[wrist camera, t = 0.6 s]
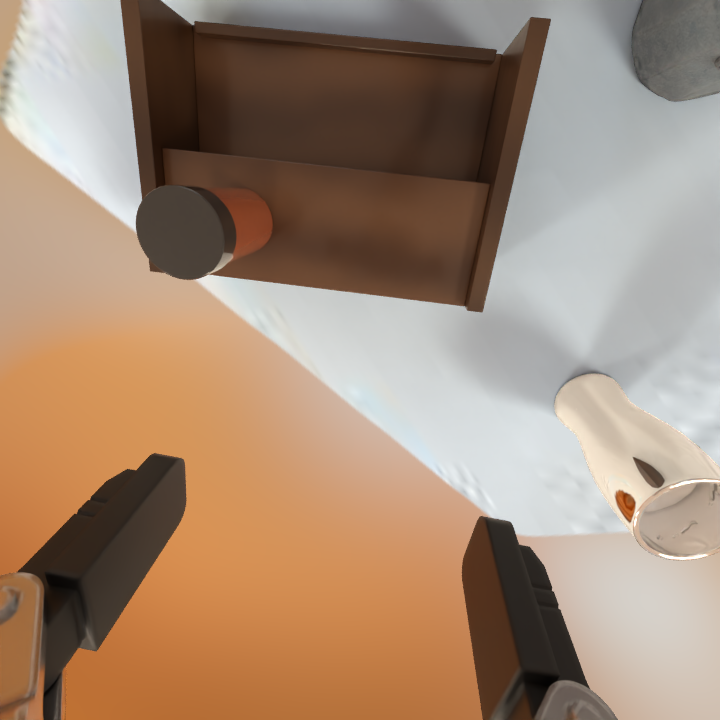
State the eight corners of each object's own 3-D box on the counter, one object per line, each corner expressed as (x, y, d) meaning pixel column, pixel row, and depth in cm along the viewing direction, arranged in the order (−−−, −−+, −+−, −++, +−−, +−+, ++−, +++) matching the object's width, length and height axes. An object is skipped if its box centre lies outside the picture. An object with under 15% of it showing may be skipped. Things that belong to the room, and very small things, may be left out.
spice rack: (204, 43, 30) (117, -21, 21) (503, 72, 29) (551, 18, 20) (214, 249, 36) (149, 271, 27) (461, 279, 35) (482, 312, 26)
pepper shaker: (209, 182, 25) (129, 179, 18) (275, 189, 25) (222, 190, 17) (212, 250, 27) (140, 274, 19) (274, 258, 26) (225, 285, 19)
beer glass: (619, 358, 36) (753, 462, 22) (633, 420, 38) (761, 549, 25) (540, 382, 38) (620, 494, 24) (558, 441, 40) (640, 573, 26)
